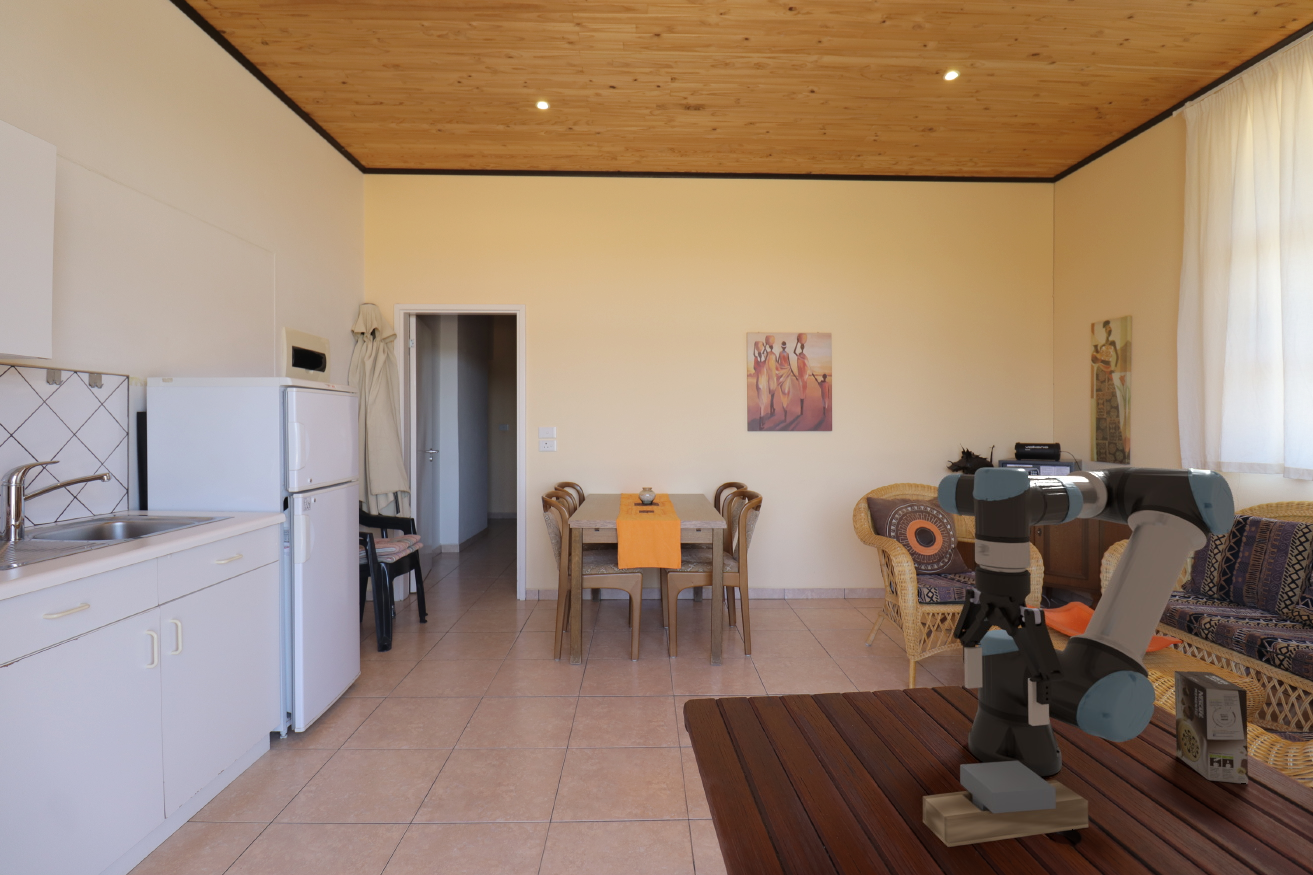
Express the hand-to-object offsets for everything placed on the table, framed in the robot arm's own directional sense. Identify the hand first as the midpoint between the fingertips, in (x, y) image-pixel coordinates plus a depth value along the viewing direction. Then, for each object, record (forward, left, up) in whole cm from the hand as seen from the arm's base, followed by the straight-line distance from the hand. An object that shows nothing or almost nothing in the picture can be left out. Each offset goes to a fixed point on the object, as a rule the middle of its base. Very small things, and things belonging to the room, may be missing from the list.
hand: (1003, 704), depth 95 cm
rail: (0, 0, -18) cm, 19 cm away
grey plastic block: (0, 0, -18) cm, 18 cm away
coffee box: (-7, +48, -19) cm, 52 cm away
